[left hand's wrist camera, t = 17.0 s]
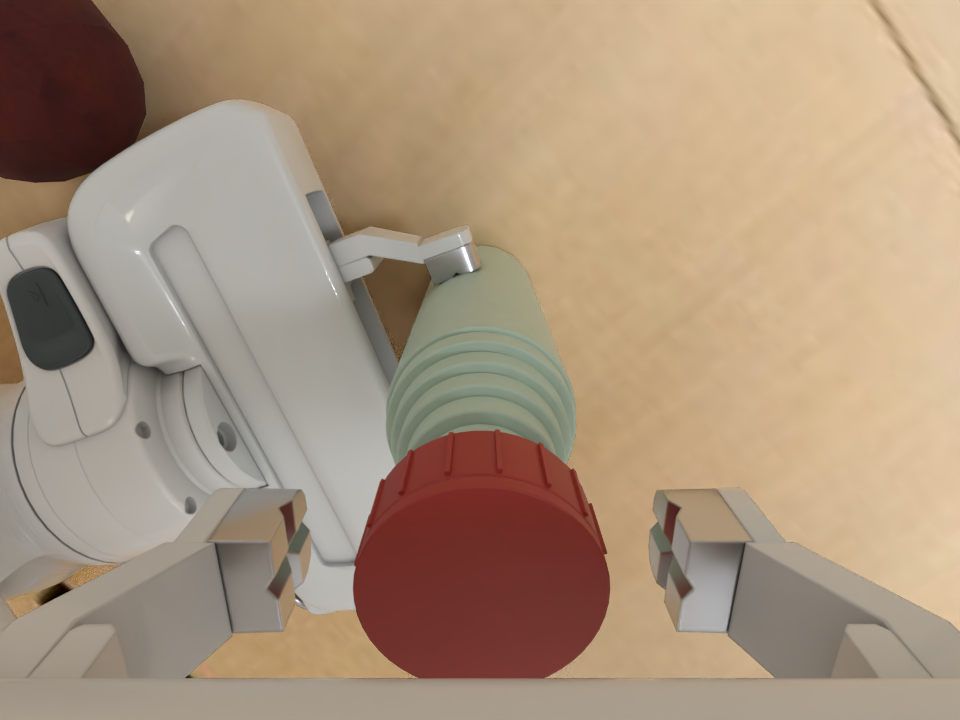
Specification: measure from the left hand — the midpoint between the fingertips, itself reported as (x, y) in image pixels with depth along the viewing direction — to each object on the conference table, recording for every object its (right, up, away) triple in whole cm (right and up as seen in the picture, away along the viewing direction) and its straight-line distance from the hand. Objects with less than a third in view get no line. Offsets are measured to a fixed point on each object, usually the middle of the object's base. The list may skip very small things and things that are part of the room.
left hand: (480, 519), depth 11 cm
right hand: (+1, +4, +11) cm, 12 cm away
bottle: (0, +6, +16) cm, 17 cm away
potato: (-16, +14, +13) cm, 25 cm away
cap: (0, -1, -2) cm, 2 cm away
